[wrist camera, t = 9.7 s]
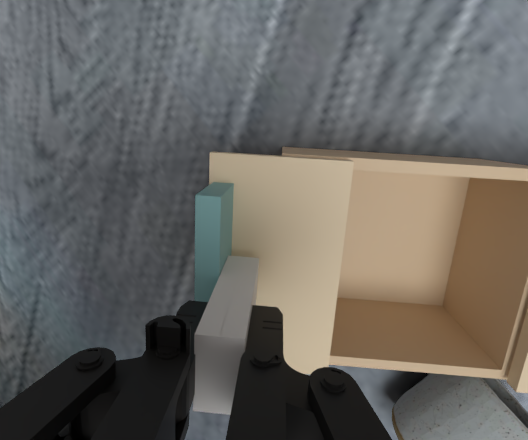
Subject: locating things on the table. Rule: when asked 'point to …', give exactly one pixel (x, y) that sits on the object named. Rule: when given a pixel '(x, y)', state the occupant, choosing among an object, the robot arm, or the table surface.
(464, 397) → the ceramic mug
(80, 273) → the table surface
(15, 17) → the table surface
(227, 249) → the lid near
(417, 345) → the carton
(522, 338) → the lid
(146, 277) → the table surface
